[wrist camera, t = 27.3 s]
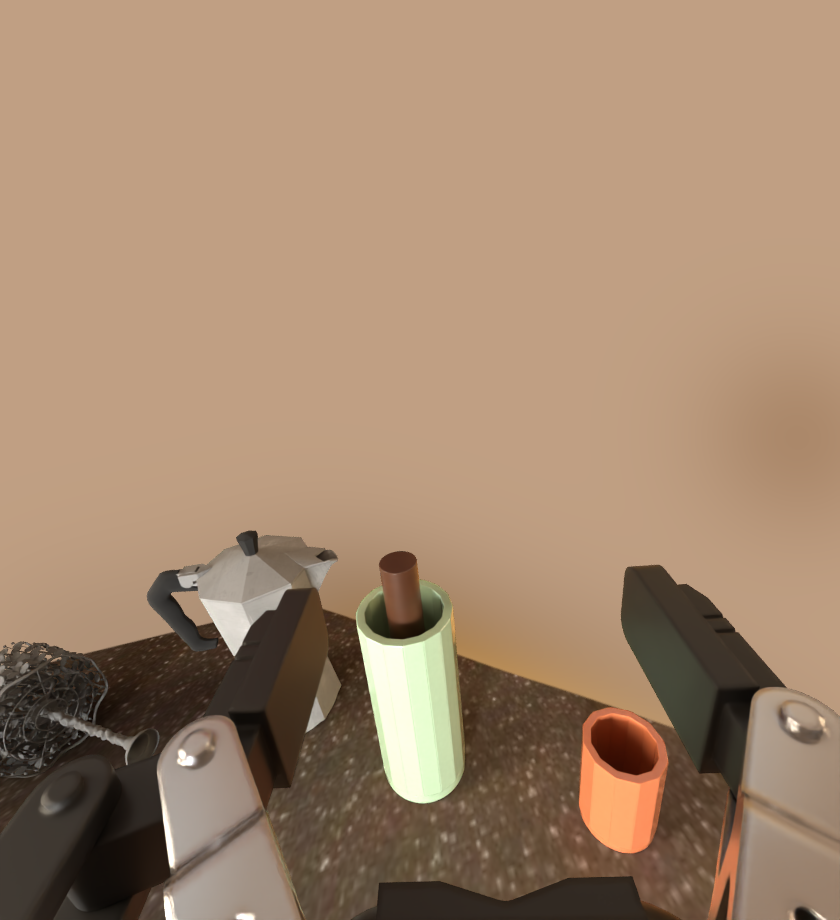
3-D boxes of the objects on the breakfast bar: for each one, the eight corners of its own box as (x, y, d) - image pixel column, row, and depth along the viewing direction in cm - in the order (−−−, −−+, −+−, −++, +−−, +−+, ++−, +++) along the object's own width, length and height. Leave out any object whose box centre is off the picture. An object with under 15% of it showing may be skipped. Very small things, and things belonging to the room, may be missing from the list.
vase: (452, 713, 38) (438, 571, 32) (476, 789, 32) (464, 632, 26) (380, 732, 37) (353, 589, 31) (390, 814, 31) (359, 656, 25)
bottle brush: (437, 731, 36) (415, 545, 29) (445, 765, 33) (423, 570, 26) (403, 740, 35) (373, 554, 28) (410, 776, 33) (378, 579, 26)
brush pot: (624, 767, 32) (632, 700, 30) (672, 841, 28) (686, 770, 25) (565, 785, 32) (568, 717, 29) (604, 863, 27) (612, 792, 25)
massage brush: (106, 857, 30) (51, 769, 27) (-69, 768, 38) (-130, 690, 34) (207, 733, 38) (175, 653, 35) (47, 680, 46) (7, 610, 42)
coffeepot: (361, 646, 46) (332, 495, 39) (363, 729, 37) (326, 553, 30) (211, 673, 44) (155, 521, 38) (177, 766, 36) (95, 589, 29)
